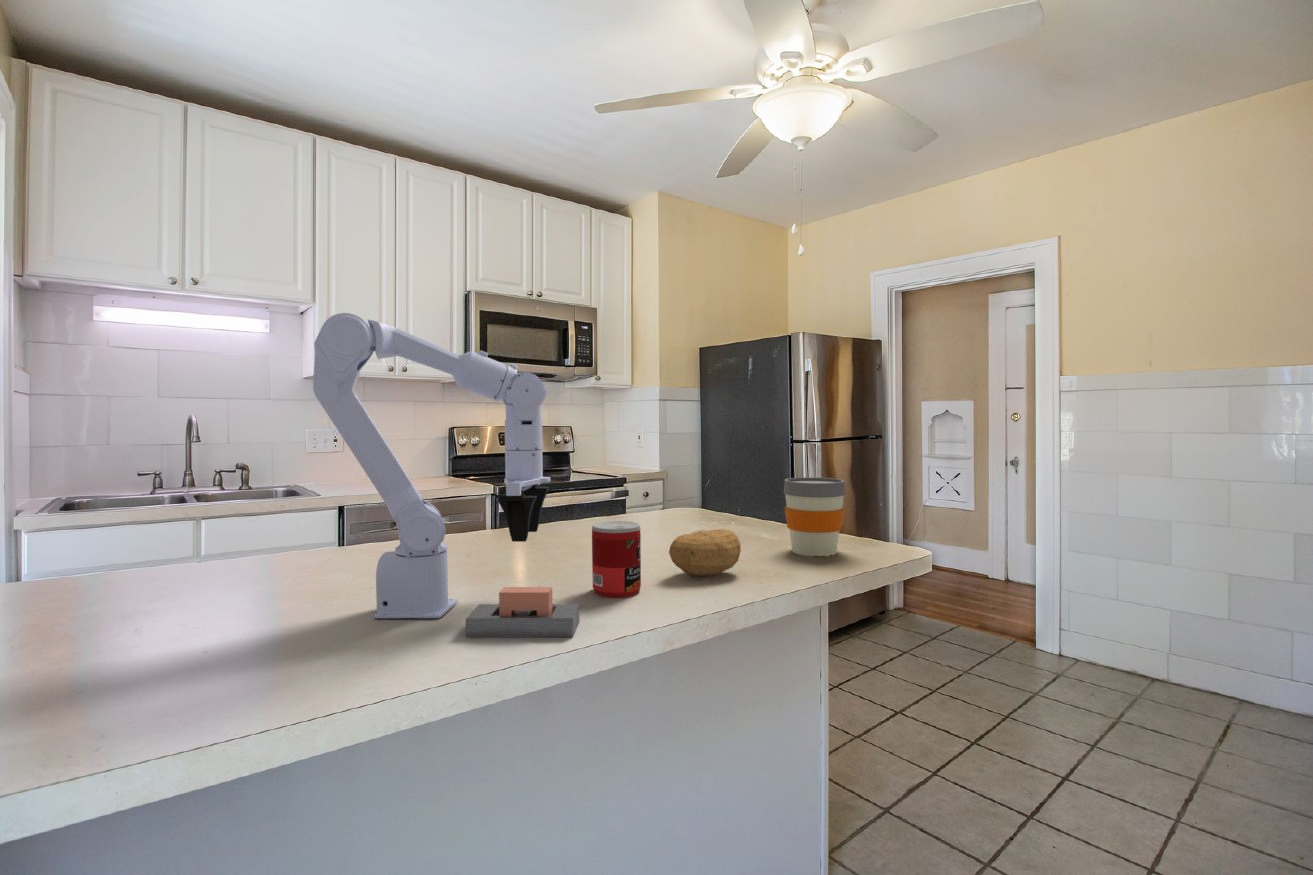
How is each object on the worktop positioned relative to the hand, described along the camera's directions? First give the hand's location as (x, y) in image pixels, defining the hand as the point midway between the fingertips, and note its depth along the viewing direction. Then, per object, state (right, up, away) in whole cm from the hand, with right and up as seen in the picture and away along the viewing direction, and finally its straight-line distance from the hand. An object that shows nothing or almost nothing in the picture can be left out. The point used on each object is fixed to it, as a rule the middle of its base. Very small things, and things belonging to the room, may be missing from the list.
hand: (525, 536), depth 98 cm
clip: (+3, -10, -14) cm, 17 cm away
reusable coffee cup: (+54, -9, +32) cm, 63 cm away
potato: (+29, -10, +14) cm, 34 cm away
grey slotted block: (+3, -10, -14) cm, 17 cm away
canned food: (+14, -10, +4) cm, 18 cm away
